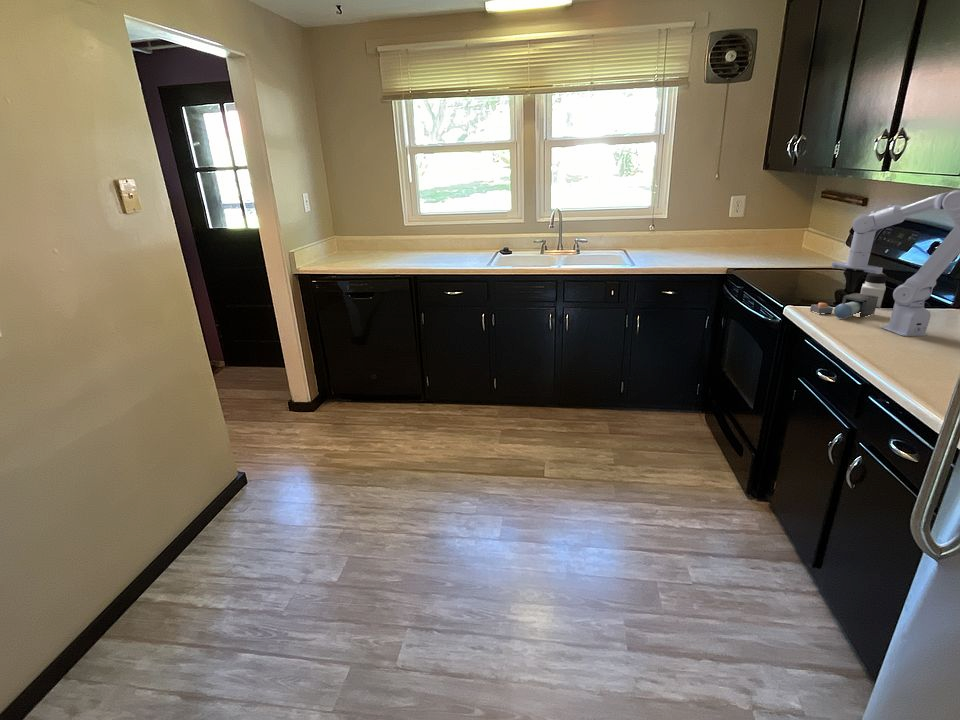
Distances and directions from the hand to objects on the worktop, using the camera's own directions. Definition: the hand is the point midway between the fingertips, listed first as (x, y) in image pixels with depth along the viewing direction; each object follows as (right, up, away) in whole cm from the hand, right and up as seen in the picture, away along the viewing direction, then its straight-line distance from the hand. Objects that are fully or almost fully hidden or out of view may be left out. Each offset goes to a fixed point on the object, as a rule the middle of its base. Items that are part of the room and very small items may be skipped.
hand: (850, 291), depth 176 cm
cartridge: (+4, -8, +5) cm, 10 cm away
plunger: (-4, -6, +9) cm, 12 cm away
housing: (+7, -7, +7) cm, 12 cm away
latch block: (-4, -6, +9) cm, 12 cm away
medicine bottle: (+21, -3, +19) cm, 28 cm away
